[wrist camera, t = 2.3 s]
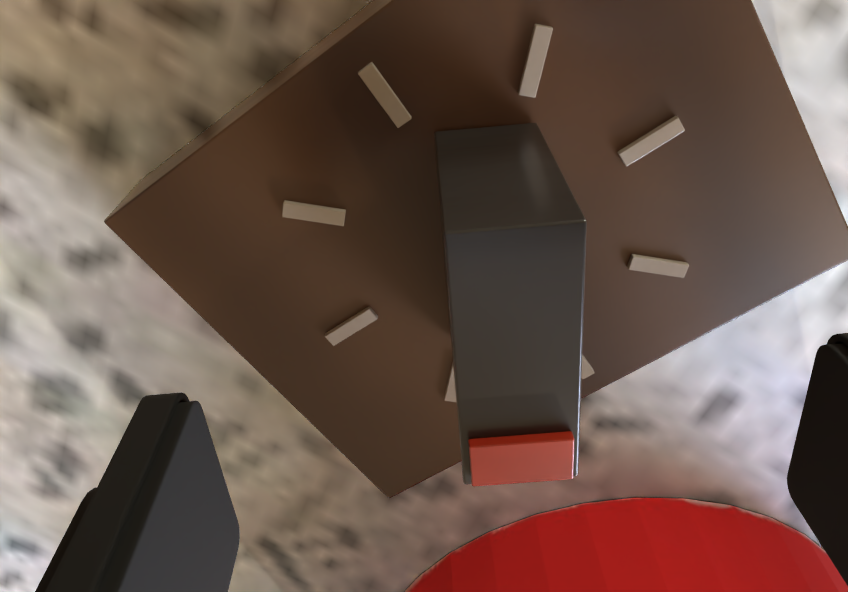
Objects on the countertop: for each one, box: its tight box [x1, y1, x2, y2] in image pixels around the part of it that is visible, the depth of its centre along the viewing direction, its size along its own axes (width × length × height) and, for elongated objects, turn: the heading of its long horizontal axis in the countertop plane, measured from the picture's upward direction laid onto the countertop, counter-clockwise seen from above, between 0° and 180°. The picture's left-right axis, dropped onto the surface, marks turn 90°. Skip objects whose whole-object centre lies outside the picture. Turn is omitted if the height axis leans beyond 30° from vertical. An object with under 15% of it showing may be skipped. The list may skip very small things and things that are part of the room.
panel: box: [104, 0, 848, 498], centre depth 17 cm, size 14×11×3 cm
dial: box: [434, 123, 587, 486], centre depth 14 cm, size 5×2×5 cm, turn 5°
